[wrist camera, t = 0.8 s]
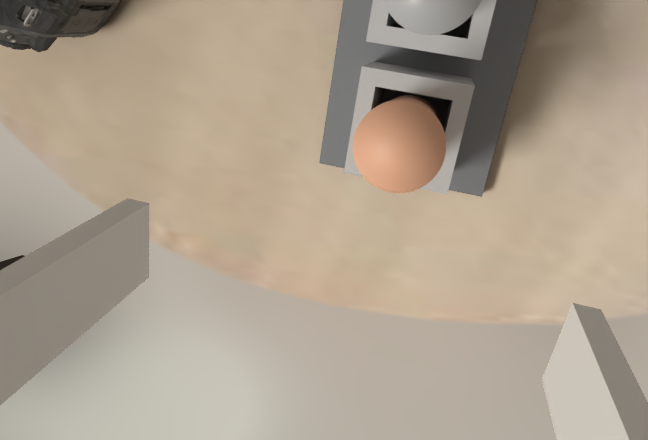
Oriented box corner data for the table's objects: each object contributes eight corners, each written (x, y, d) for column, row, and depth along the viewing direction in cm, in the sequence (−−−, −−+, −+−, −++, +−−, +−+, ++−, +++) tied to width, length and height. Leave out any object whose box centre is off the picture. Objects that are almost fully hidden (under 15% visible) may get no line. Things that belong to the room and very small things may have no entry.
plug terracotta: (377, 82, 32) (361, 93, 26) (454, 96, 31) (456, 110, 25) (363, 156, 33) (345, 182, 28) (436, 171, 33) (433, 201, 27)
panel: (360, -96, 32) (342, -122, 27) (554, -72, 31) (578, -94, 25) (321, 160, 39) (300, 181, 33) (481, 193, 37) (486, 221, 31)
